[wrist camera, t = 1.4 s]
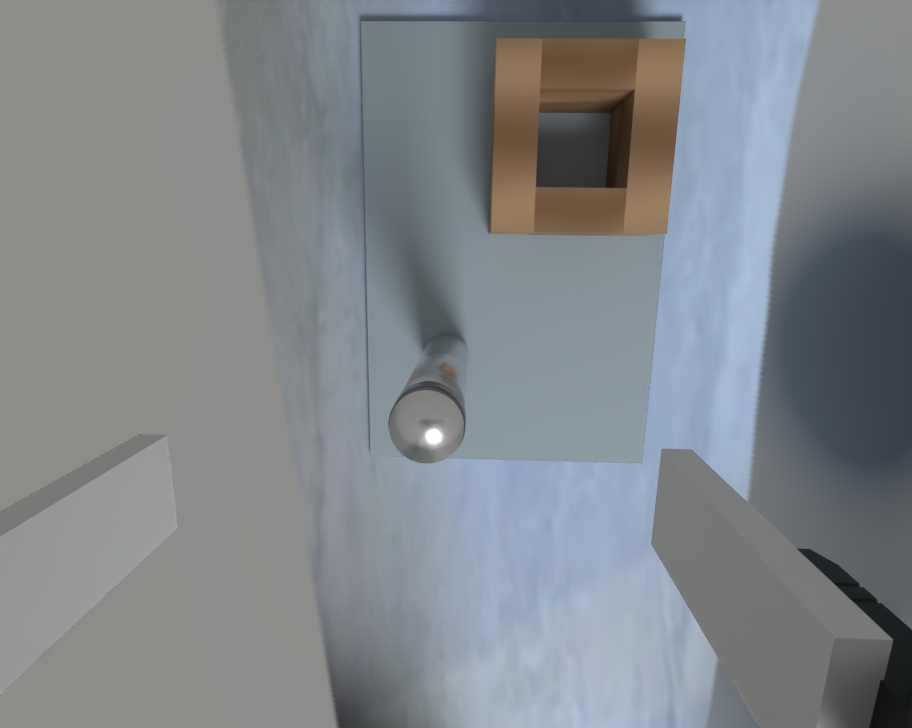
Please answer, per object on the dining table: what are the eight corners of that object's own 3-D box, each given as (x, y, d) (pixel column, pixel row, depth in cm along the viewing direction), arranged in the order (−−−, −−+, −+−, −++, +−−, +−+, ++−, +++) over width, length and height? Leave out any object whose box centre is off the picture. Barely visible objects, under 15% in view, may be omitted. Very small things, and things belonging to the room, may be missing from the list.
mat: (640, 461, 34) (642, 463, 34) (371, 453, 35) (370, 456, 34) (682, 24, 29) (685, 21, 28) (362, 24, 29) (360, 20, 29)
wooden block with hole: (639, 236, 31) (666, 233, 26) (488, 234, 31) (491, 231, 27) (653, 71, 29) (685, 38, 25) (493, 70, 29) (496, 38, 25)
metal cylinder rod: (468, 377, 33) (464, 465, 19) (423, 376, 33) (388, 463, 19) (469, 332, 32) (466, 391, 19) (423, 332, 33) (386, 389, 19)
